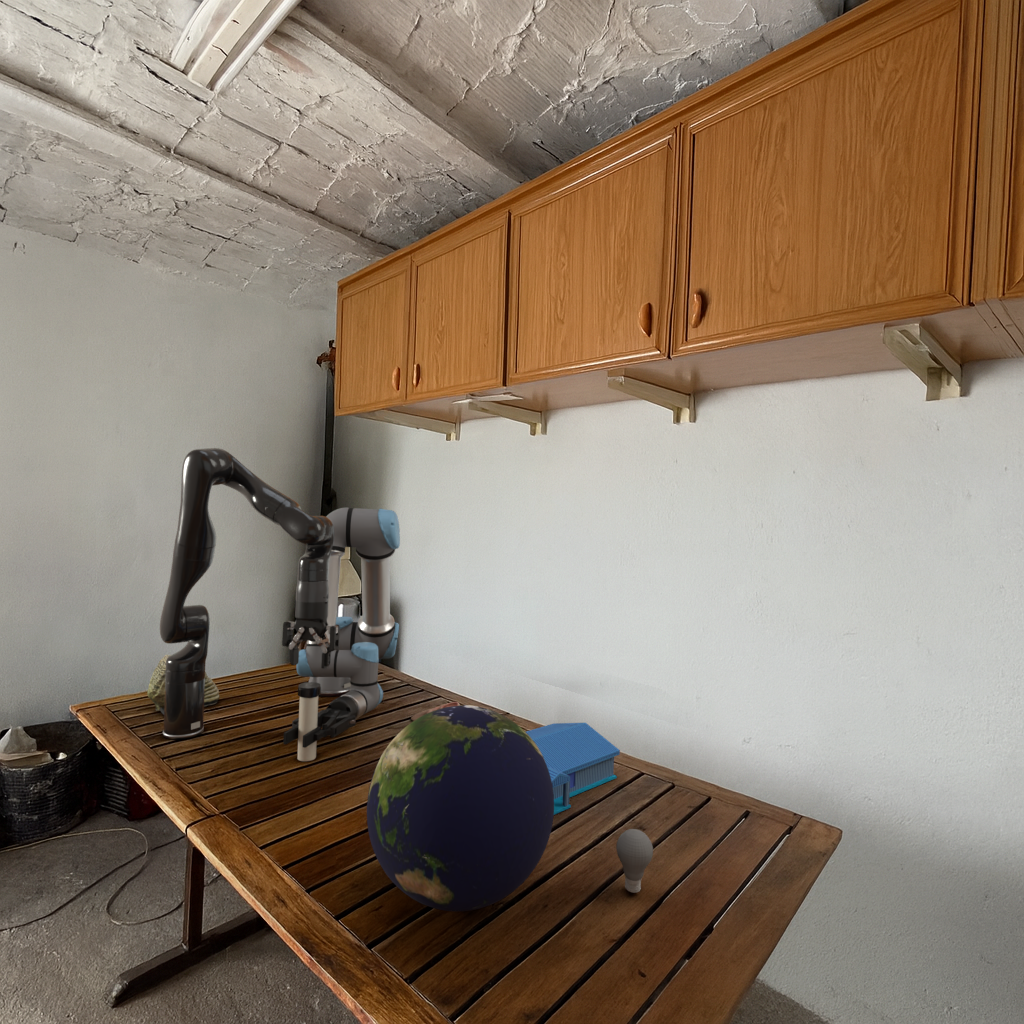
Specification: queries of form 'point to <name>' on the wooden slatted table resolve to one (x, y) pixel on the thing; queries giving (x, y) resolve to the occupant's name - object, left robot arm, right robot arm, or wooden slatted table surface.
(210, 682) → the fossil
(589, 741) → the model building
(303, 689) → the lid
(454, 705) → the anatomical model
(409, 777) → the globe
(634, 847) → the light bulb
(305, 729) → the cream bottle
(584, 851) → the wooden slatted table surface
